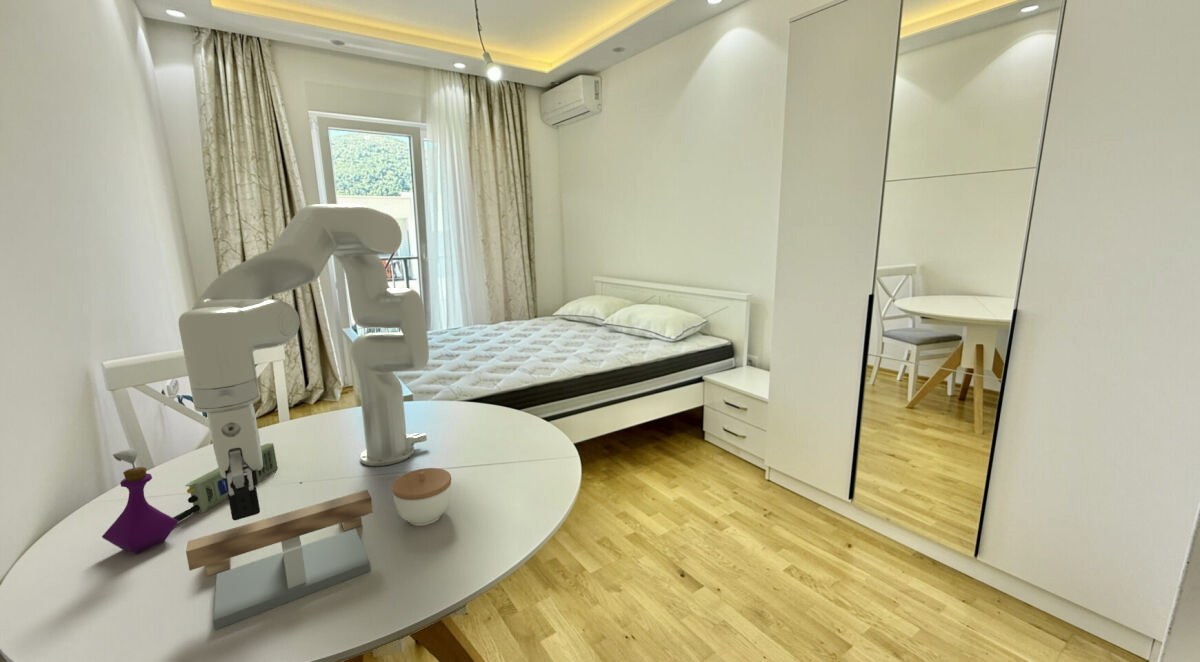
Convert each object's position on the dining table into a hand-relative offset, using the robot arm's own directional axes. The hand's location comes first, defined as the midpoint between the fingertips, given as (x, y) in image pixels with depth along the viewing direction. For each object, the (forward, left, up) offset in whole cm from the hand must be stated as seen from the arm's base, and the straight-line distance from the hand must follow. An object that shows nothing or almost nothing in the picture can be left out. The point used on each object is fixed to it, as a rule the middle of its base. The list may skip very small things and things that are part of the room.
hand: (246, 501), depth 72 cm
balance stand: (-5, 0, -15) cm, 15 cm away
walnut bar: (-5, 0, -7) cm, 9 cm away
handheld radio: (+5, -39, -15) cm, 42 cm away
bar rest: (-5, -11, -15) cm, 19 cm away
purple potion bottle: (+16, -26, -15) cm, 34 cm away
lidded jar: (-27, -4, -15) cm, 31 cm away
